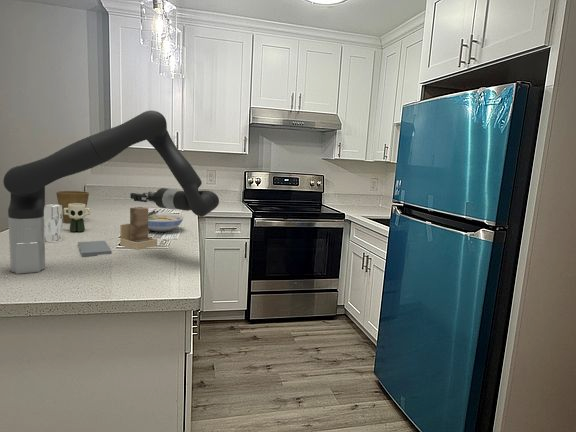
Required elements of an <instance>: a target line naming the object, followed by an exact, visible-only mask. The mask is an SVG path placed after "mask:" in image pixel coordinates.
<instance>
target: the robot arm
mask: <svg viewBox="0 0 576 432" xmlns="http://www.w3.org/2000/svg"><path fill="white" fill-rule="evenodd" d="M144 141H147V142H148V143H149V144H150V145H151V146H152V147H153V149H154V150H156V152H157V153H158V154H159V156H160V157H161V158H162V159H163V161H164V162H165V165H166V166H167V168H168V169H169V171H170V172H171V174H172V175H173V177H174V178H175V180H176V181H177V183H178V184H179V185H180V187H181V188H182V190H179V189H174V188H165V187H162V188H158V190H156V192H155V191H147V192H143V193H140V192H139V193H136V192H130V196H129V197H130V199H131V200H133V202H141V203H151V204H153V203H154V204H155V205H156V206H157V207H159V208H160V209H166V210H167V209H168V210H180V211H187V212H189V211H191V212H192V213H193V214H194V215H196V216H198V217H199V218H200V217H201V218H202V217H205V216H206V215H208V214H209V213H211V212H212V211H214V210H216V208H217V207H218V206H219V204H220V198H219V196H218V195H217V194H216V193H215V192H213V191H211V190H205V189H204V190H199V188H200V187H201V186H202V184H203V183H202V182H203V181H202V180H201V178H200V176H199V175H198V174H197V172H196V170H195V169H194V167H193V166H192V165H191V164H190V162H189V161H188V159H187V158H186V157H184V155H183V154H182V153H181V151H180V150H179V149H178V147H177V146H176V145H175V143H174V141H173V140H172V137H171V135H170V133H169V131H168V123H167V119H166V118H165V116H164V115H163V114H162V113H161V112H159V111H156V110H146V111H143V112H141V113H140V114H138V115H135V116H134V117H132V118H131V119H129V120H127V121H125V122H123V123H121V124H119V125H117V126H114V127H111V128H108V129H105V130H103V131H102V130H101V131H100V132H97V133H94V134H91V135H89V136H87V137H83V138H82V139H79V140H77V141H75V142H73V143H71V144H68V145H67V146H65V147H63V148H60V149H59V150H57V151H56V152H54V153H52V154H50V155H48V156H45V157H44V158H43V157H42V158H40V159H38V160H35V161H31V162H28V163H24V164H21V165H16V166H13V167H11V168H10V169H9V170H7V172H6V173H5V174H4V176H3V180H2V182H3V186H4V188H5V189H6V190H7V192H9V193H10V201H9V206H8V209H7V211H8V213H7V216H8V238H9V243H8V244H9V260H10V264H9V265H10V271H11V272H12V273H15V274H16V275H19V274H28V273H29V274H30V273H39V272H41V271H42V270H45V269H46V246H45V245H46V243H45V242H46V241H45V238H46V235H45V224H44V207H45V205H46V187H47V186H48V185H49V184H52V183H54V182H55V181H58V180H60V179H63V178H65V177H69V176H72V175H75V174H79V173H81V172H85V171H88V170H90V169H93V168H95V167H98V166H101V165H102V164H105V163H106V162H108V161H110V160H112V159H114V158H115V157H116V156H118V155H119V154H121V153H123V151H126V149H128V148H130V147H131V146H133V145H136V144H138V143H139V144H140V143H141V142H144Z"/></svg>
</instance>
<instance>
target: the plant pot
mask: <svg viewBox="0 0 576 432" xmlns="http://www.w3.org/2000/svg"><path fill="white" fill-rule="evenodd" d="M55 194H56V199H57V205H62V211H63V221H64V222H65V223H66V224H70V223H71V219H72V218H69V216H68V215H64V208H68V204H73V203H81V204H85V205H86V207H87V205H88V201H89V195H90V192H88V191H81V190H80V191H79V190H59V191H56V192H55ZM66 213H68V210H66ZM82 219H83V220H84V218H82Z"/></svg>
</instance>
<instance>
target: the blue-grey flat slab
mask: <svg viewBox="0 0 576 432" xmlns="http://www.w3.org/2000/svg"><path fill="white" fill-rule="evenodd" d="M77 246H78V249H79V252H80V255H81V257H82V258H83V257H84V258H86V257H87V258H88V257H98V256H101V255H112V254H113V251H112V249H111V247H110V246H109V245H108V243H107V241H106V240H91V241H78V242H77Z"/></svg>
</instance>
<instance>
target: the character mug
mask: <svg viewBox="0 0 576 432" xmlns="http://www.w3.org/2000/svg"><path fill="white" fill-rule="evenodd" d="M66 210H68V213H66ZM64 215H68V216H69V218H72V219H71V223H69V224H70V225H69V231H70V232H76V231H77V232H85V230H86V228H85V222H84V218H86V215H87V216H90V215H91V207H90V208H89V207H87V206H86V205H85V204H81V203H73V204H68V208H64ZM82 218H83V219H82Z"/></svg>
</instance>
